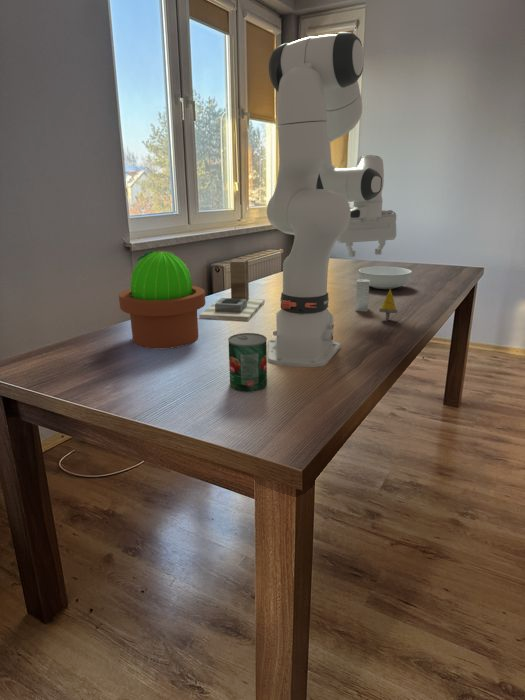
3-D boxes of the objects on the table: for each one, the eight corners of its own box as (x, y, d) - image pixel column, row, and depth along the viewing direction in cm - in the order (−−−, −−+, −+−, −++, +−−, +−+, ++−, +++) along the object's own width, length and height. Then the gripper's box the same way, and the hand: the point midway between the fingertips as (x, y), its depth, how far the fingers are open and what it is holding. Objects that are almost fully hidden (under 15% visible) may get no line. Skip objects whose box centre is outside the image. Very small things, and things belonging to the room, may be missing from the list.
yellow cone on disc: (377, 321, 147) (380, 288, 145) (379, 320, 152) (382, 288, 150) (395, 322, 145) (398, 289, 144) (396, 321, 150) (400, 289, 149)
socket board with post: (248, 321, 150) (247, 272, 144) (199, 319, 153) (196, 270, 148) (264, 303, 172) (264, 259, 167) (221, 301, 175) (219, 258, 170)
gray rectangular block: (367, 311, 160) (369, 281, 156) (355, 311, 161) (357, 281, 157) (367, 308, 163) (369, 279, 160) (355, 308, 164) (357, 279, 161)
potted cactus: (222, 339, 133) (218, 248, 125) (154, 360, 118) (145, 257, 110) (175, 324, 148) (169, 241, 139) (109, 341, 133) (98, 249, 125)
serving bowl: (407, 282, 204) (408, 266, 202) (413, 293, 185) (414, 275, 183) (357, 281, 208) (358, 265, 206) (357, 291, 188) (358, 274, 186)
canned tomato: (274, 389, 101) (274, 339, 97) (243, 399, 97) (241, 347, 93) (253, 377, 107) (252, 330, 104) (222, 386, 103) (220, 337, 99)
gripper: (391, 209, 157) (388, 252, 162) (333, 211, 152) (332, 256, 156) (402, 210, 151) (398, 254, 156) (342, 213, 146) (341, 259, 151)
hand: (365, 255), depth 156 cm, fingers open, 8 cm apart
